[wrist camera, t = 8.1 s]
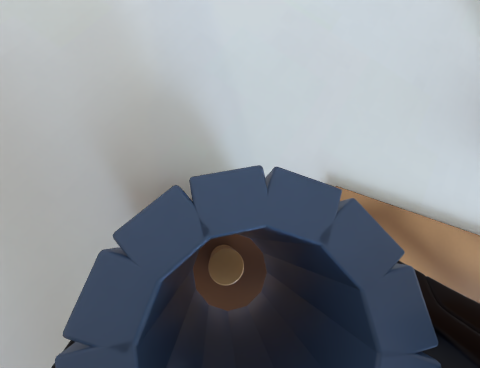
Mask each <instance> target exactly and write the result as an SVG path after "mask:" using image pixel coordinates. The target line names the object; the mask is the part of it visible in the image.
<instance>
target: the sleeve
mask: <svg viewBox="0 0 480 368" xmlns="http://www.w3.org/2000/svg"><path fill="white" fill-rule="evenodd" d="M189 182H190V188H191V194H192V200H193V202H192V200H191V199H190V198H189V197H188V196H187V195H186V193H185V192H184V191H183V190H182V189H181V188H180V187H179V186H177V185H175V186H172V187H171V188H170V189H169V190H167V191H166V192H165V193H164V194H162V195H161V196H160V197H159V198H157V199H156V200H155V201H153V202H152V203H151V204H150V205H148V206H147V207H146V208H145V209H143V210H142V211H141V212H140V213H138V214H137V215H136V216H134V217H133V218H132V219H131V220H129V221H128V222H127V223H126V224H124V225H123V226H122V227H121V228H119V229H118V230H117V231H116V232H115V233H114V234H113V238H114V240H115V241H116V242H117V244H118V245H119V246H120V248H112V249H104V250H102V251H101V252H100V253H99V254H98V257H97V259H96V261H95V263H94V265H93V267H92V270H91V272H90V274H89V276H88V278H87V281H86V283H85V285H84V287H83V289H82V292H81V294H80V296H79V298H78V300H77V302H76V305H75V307H74V309H73V311H72V313H71V316H70V318H69V320H68V322H67V324H66V327H65V329H64V331H63V337H65V338H66V339H69V340H72V341H75V343H73V344H72V345H71V346H69V347H68V348H67V349H66V350H64V351H63V352H62V353H60V354H59V355H58V356H56V359H55V368H441V364H440V363H439V362H438V361H437V360H436V359H434V358H432V357H430V356H429V355H427V354H425V353H423V352H422V351H424V350H427V349H431V348H434V347H437V346H438V340H437V337H436V334H435V331H434V328H433V325H432V322H431V319H430V316H429V313H428V310H427V307H426V303H425V300H424V297H423V294H422V291H421V288H420V285H419V282H418V279H417V276H416V273H415V270H414V268H413V267H412V266H410V265H404V264H398V263H397V262H398V261H399V260H400V258H401V257H402V256H403V255H404V253H405V252H404V250H403V249H402V248H401V247H400V246H399V245H398V244H397V243H396V242H395V240H394V239H393V238H392V237H391V236H390V235H389V234H388V233H387V232H386V231H385V230H384V229H383V228H382V227H381V226H380V225H379V223H378V222H377V221H376V220H375V219H374V218H373V217H372V216H371V215H370V214H369V213H368V212H367V211H366V210H365V209H364V208H363V207H362V205H361V204H360V203H359V202H358V201H357V200H356V199H354V198H350V199H347V200H343V201H340V198H341V194H342V190H341V189H339V188H336V187H334V186H331V185H328V184H325V183H322V182H319V181H316V180H314V179H311V178H308V177H305V176H302V175H299V174H296V173H294V172H291V171H288V170H285V169H282V168H279V167H274V169H273V170H272V171H271V172H270V173H269V174H268V175H267V177H266V178H265V176H264V171H263V168H262V166H259V165H258V166H252V167H247V168H241V169H235V170H229V171H223V172H217V173H212V174H206V175H200V176H194V177H191V178H190V180H189ZM232 234H239V235H242V236H245V237H248V238H250V239H251V240H252V241H253V242H254V243H255V244H256V246H257V247H258V248H259V249H260V250H261V251H262V252H263V256H264V261H265V265H266V270H267V274H266V277H265V281H264V284H263V288H262V291H261V292H260V293H259V294H258V295H257V296H256V297H255V298H254V299H253V300H252V301H251V302H250V304H249V305H248V306H246V307H242V308H238V309H234V310H230V311H226V310H223V309H220V308H217V307H214V306H211V305H209V304H208V303H207V302H206V301H205V300H204V298H203V297H202V296H201V295H200V293H199V292H198V291H197V290H196V286H195V280H194V273H193V266H194V263H195V261H196V258H197V255H198V252H199V249H201V248H202V247H203V246H204V245H205V244H206V243H207V242H208V241H210V240H211V239H213V238H218V237H223V236H227V235H232Z"/></svg>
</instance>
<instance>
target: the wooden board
mask: <svg viewBox="0 0 480 368" xmlns="http://www.w3.org/2000/svg"><path fill="white" fill-rule="evenodd" d="M336 188H339V189H341V190H342V194H341V198H340V201H343V200H347V199H350V198H354V199H356V200H357V201H358V202H359V203H360V204H361V205H362V207H363V208H364V209H365V210H366V211H367V212H368V213H369V214H370V215H371V216H372V217H373V218H374V219H375V220H376V221H377V222H378V223H379V225H380V226H381V227H382V228H383V229H384V230H385V231H386V232H387V233H388V234H389V235H390V236H391V237H392V238H393V239H394V240H395V242H396V243H397V244H398V245H399V246H400V247H401V248H402V249H403V250H404V252H405V253H404V255H403V256H402V257H401V258H400V260H399V261H401V262H403V263H405V264H406V265H410V266H412V267H413V268H414V269H416V270H417V271H419V272H421V273H423V274H424V275H425V276H429V277H430V278H432V279H434V280H436V281H438V282H440V283H441V284H443V285H445V286H447V287H449V288H451V289H453V290H455V291H456V292H458V293H460V294H462V295H464V296H466V297H468V298H470V299H472V300H474V301H476V302H478V303H480V235H477V234H474V233H471V232H468V231H465V230H462V229H459V228H456V227H454V226H451V225H448V224H445V223H442V222H439V221H436V220H433V219H430V218H427V217H425V216H422V215H419V214H416V213H413V212H410V211H407V210H404V209H401V208H398V207H396V206H393V205H390V204H387V203H384V202H381V201H378V200H375V199H372V198H369V197H367V196H364V195H361V194H358V193H355V192H352V191H349V190H346V189H343V188H341V187H338V186H336Z"/></svg>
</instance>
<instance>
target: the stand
mask: <svg viewBox="0 0 480 368" xmlns="http://www.w3.org/2000/svg"><path fill="white" fill-rule="evenodd" d="M193 273H194V280H195V286H196V290H197V291H198V292H199V293H200V295H201V296H202V297H203V298H204V300H205V301H206V302H207V303H208V304H209V305H211V306H214V307H217V308H220V309H223V310H226V311H230V310H234V309H238V308H242V307H246V306H248V305H249V304H250V302H251V301H252V300H253V299H254V298H255V297H256V296H257V295H258V294H259V293H260V292H261V291H262V288H263V284H264V281H265V277H266V274H267V270H266V265H265V261H264V256H263V252H262V251H261V250H260V249H259V248H258V247H257V246H256V244H255V243H254V242H253V241H252V240H251V239H250V238H248V237H245V236H242V235H239V234H232V235H227V236H223V237H218V238H213V239H211V240H210V241H208V242H207V243H206V244H205V245H204V246H203V247H202V248H201V249H199V252H198V255H197V258H196V261H195V263H194V266H193Z"/></svg>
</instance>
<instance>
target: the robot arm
mask: <svg viewBox="0 0 480 368" xmlns="http://www.w3.org/2000/svg"><path fill="white" fill-rule="evenodd" d="M397 263H398V264H404V265H406V264H405V263H403V262H401V261H398V262H397ZM414 270H415V273H416V276H417V279H418V282H419V285H420V288H421V291H422V294H423V297H424V300H425V303H426V307H427V310H428V313H429V316H430V319H431V322H432V325H433V328H434V331H435V334H436V337H437V340H438V346H437V347H434V348H431V349H427V350H424V351H422V352H423V353H425V354H427V355H429V356H430V357H432V358H434V359H436V360H437V361H438V362H439V363H440V364H441V368H480V303H478V302H476V301H474V300H472V299H470V298H468V297H466V296H464V295H462V294H460V293H458V292H456V291H455V290H453V289H451V288H449V287H447V286H445V285H443V284H441V283H440V282H438V281H436V280H434V279H432V278H430V277H429V276H425V275H424V274H423V273H421V272H419V271H417V270H416V269H414ZM73 343H75V341H72V340H71V341H70V342H69V344H68V345H67V346H66V348H65V349H64V350H66V349H67V348H68V347H69V346H71V345H72V344H73ZM51 368H55V363H54V365H53V366H52V367H51Z"/></svg>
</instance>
